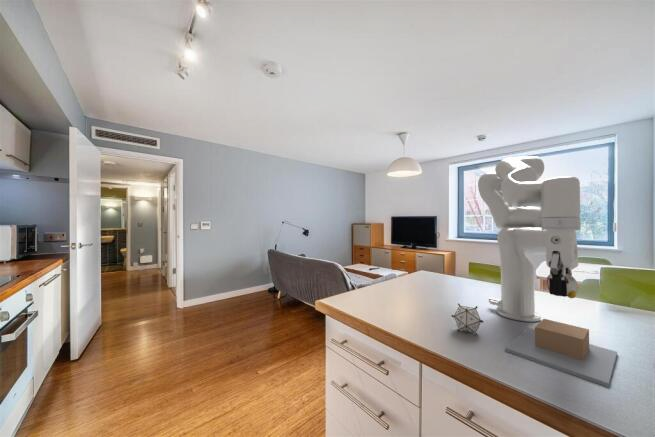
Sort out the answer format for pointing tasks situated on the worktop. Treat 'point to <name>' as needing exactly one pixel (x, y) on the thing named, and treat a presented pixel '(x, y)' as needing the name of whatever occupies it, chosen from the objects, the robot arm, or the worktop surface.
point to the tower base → (565, 363)
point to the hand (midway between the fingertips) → (561, 292)
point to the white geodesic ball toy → (467, 319)
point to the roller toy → (571, 285)
